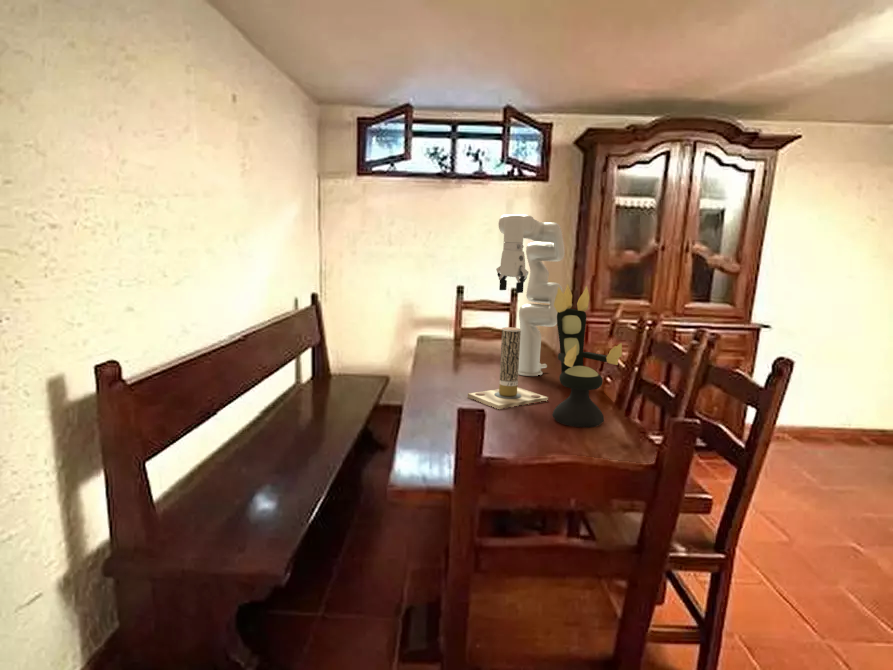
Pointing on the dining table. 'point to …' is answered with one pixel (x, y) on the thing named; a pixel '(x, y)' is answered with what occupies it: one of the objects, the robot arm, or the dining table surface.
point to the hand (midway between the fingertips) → (511, 291)
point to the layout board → (506, 398)
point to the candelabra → (578, 363)
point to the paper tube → (509, 361)
